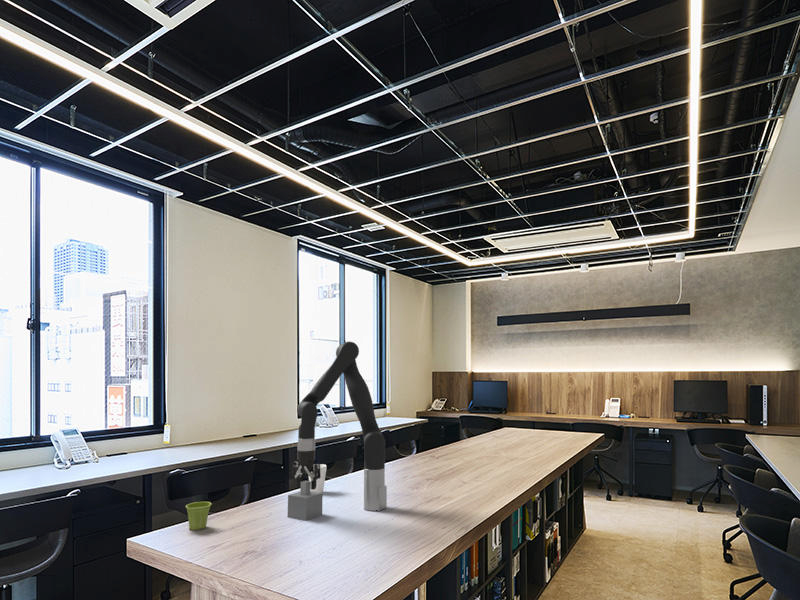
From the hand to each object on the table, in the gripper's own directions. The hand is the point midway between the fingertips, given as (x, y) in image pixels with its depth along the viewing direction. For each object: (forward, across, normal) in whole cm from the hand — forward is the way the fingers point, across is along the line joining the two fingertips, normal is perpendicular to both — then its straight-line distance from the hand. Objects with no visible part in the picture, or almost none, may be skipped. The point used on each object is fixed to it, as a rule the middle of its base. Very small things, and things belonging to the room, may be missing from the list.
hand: (305, 488), depth 215 cm
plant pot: (+11, +25, +34) cm, 44 cm away
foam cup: (+11, +23, -34) cm, 43 cm away
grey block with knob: (+11, 0, 0) cm, 11 cm away
